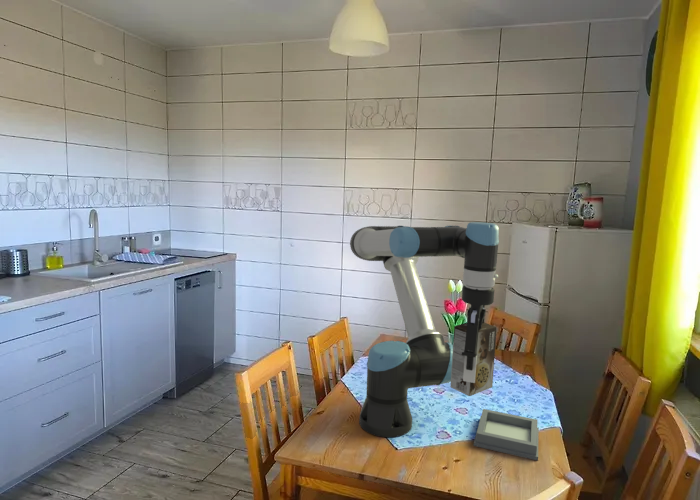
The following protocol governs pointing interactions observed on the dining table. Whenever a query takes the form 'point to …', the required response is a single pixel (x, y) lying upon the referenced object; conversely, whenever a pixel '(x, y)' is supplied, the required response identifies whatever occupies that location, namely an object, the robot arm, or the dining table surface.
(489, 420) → the tray
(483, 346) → the coffee box
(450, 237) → the robot arm
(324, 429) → the dining table surface
